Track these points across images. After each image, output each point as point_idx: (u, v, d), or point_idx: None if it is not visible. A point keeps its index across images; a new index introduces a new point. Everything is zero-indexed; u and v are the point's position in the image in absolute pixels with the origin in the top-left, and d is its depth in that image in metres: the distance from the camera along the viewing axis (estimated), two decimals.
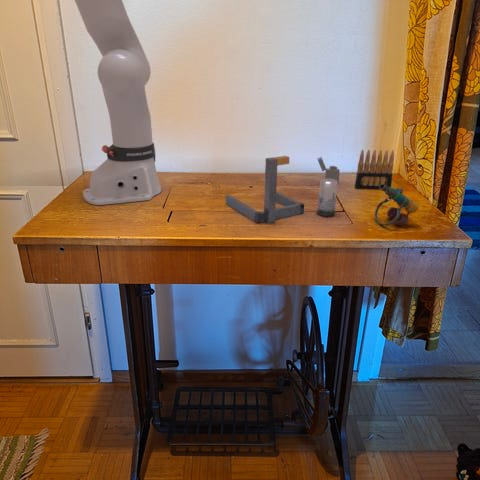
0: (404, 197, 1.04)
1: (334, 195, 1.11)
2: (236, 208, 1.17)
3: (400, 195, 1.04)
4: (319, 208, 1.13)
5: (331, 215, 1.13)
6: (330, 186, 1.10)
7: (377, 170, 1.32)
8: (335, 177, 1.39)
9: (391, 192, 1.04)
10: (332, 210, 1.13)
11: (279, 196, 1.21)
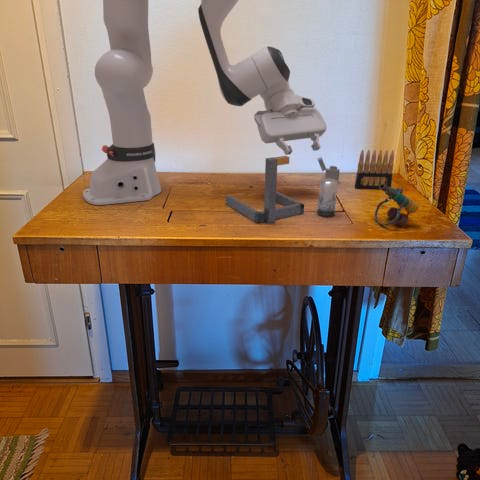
0: (404, 197, 1.04)
1: (334, 195, 1.11)
2: (236, 208, 1.17)
3: (400, 195, 1.04)
4: (319, 208, 1.13)
5: (331, 215, 1.13)
6: (331, 186, 1.10)
7: (377, 170, 1.32)
8: (335, 177, 1.39)
9: (391, 192, 1.04)
10: (332, 210, 1.13)
11: (279, 196, 1.21)
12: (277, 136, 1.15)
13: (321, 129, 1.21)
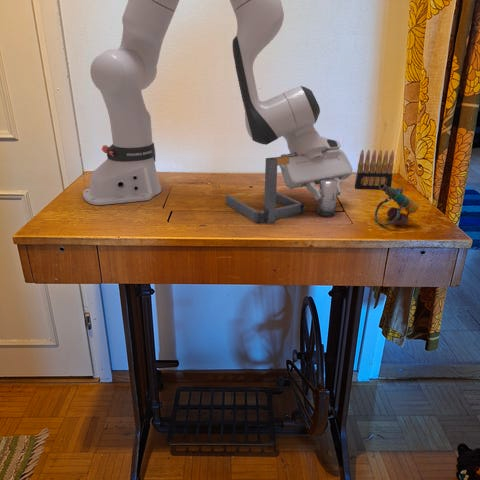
0: (404, 197, 1.04)
1: (334, 195, 1.11)
2: (236, 208, 1.17)
3: (400, 195, 1.04)
4: (319, 208, 1.13)
5: (331, 215, 1.13)
6: (331, 186, 1.10)
7: (377, 170, 1.32)
8: None
9: (391, 192, 1.04)
10: (332, 210, 1.13)
11: (279, 196, 1.21)
12: (302, 182, 1.09)
13: (347, 172, 1.16)
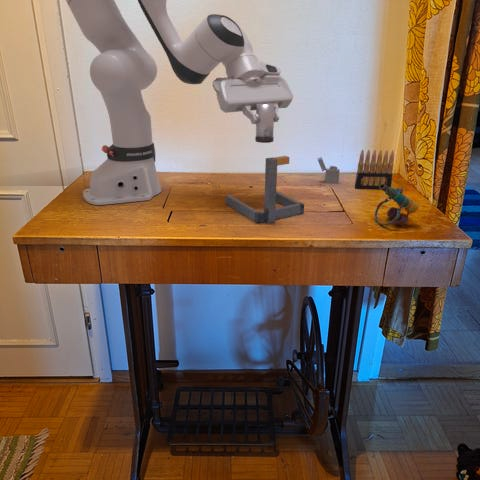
0: (404, 197, 1.04)
1: (271, 119, 1.08)
2: (236, 208, 1.17)
3: (400, 195, 1.04)
4: (256, 134, 1.10)
5: (269, 141, 1.09)
6: (266, 108, 1.06)
7: (377, 170, 1.32)
8: (335, 177, 1.39)
9: (391, 192, 1.04)
10: (269, 135, 1.09)
11: (279, 196, 1.21)
12: (237, 104, 1.06)
13: (286, 98, 1.12)
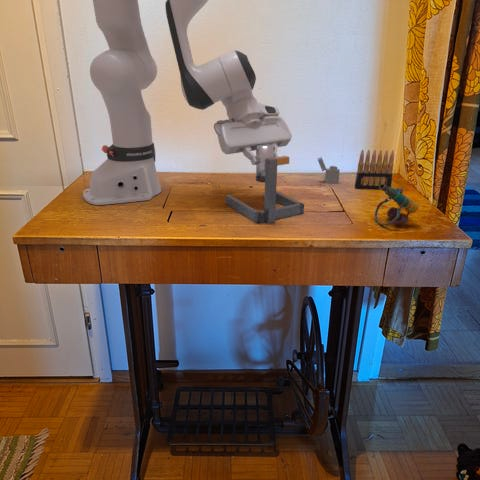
0: (404, 197, 1.04)
1: None
2: (236, 208, 1.17)
3: (400, 195, 1.04)
4: (257, 173, 1.14)
5: None
6: (266, 150, 1.10)
7: (377, 170, 1.32)
8: (335, 177, 1.39)
9: (391, 192, 1.04)
10: None
11: (279, 196, 1.21)
12: (237, 147, 1.10)
13: (285, 138, 1.16)
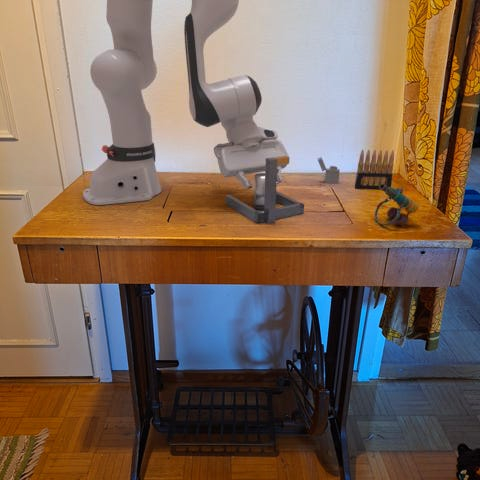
0: (404, 197, 1.04)
1: None
2: (236, 208, 1.17)
3: (400, 195, 1.04)
4: (255, 202, 1.17)
5: None
6: (264, 181, 1.14)
7: (377, 170, 1.32)
8: (335, 177, 1.39)
9: (391, 192, 1.04)
10: None
11: (279, 196, 1.21)
12: (236, 170, 1.13)
13: None
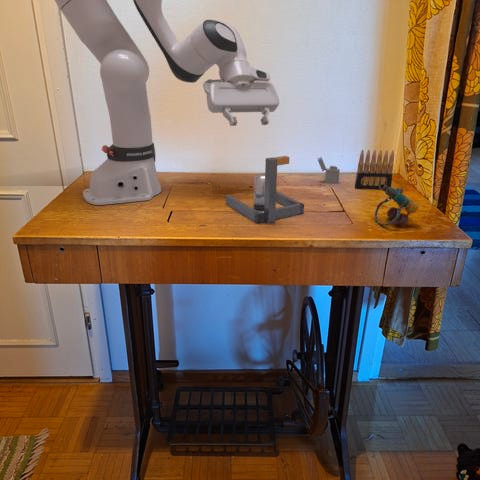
0: (404, 197, 1.04)
1: None
2: (236, 208, 1.17)
3: (400, 195, 1.04)
4: (255, 202, 1.17)
5: None
6: (264, 181, 1.14)
7: (377, 170, 1.32)
8: (335, 177, 1.39)
9: (391, 192, 1.04)
10: None
11: (279, 196, 1.21)
12: (223, 106, 1.14)
13: (272, 104, 1.20)
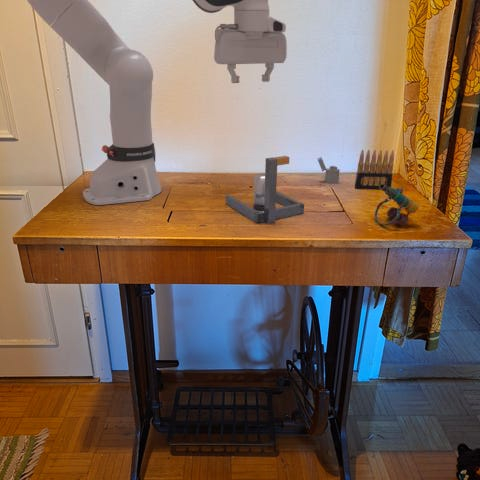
0: (404, 197, 1.04)
1: None
2: (236, 208, 1.17)
3: (400, 195, 1.04)
4: (255, 202, 1.17)
5: None
6: (264, 181, 1.14)
7: (377, 170, 1.32)
8: (335, 177, 1.39)
9: (391, 192, 1.04)
10: None
11: (279, 196, 1.21)
12: (230, 64, 1.11)
13: (278, 61, 1.17)
